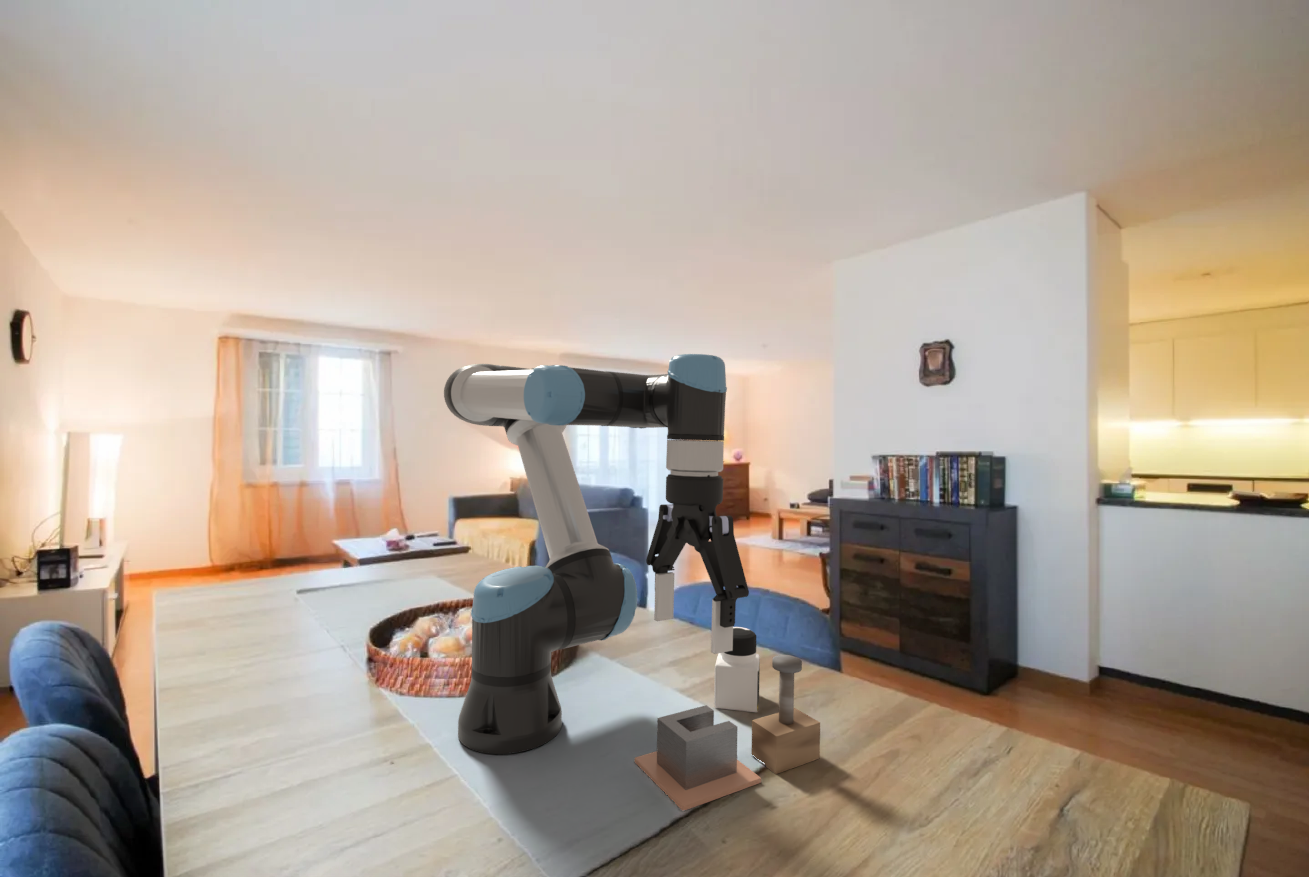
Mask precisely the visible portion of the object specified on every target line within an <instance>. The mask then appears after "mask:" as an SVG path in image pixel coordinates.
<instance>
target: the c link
mask: <svg viewBox="0 0 1309 877" xmlns="http://www.w3.org/2000/svg"><path fill="white" fill-rule="evenodd" d="M714 721H715V710H714V709H712V708H711V707H709V706H708V705H705V704H704V705H702V706H699V707H698V706H697V707H693V708H690V709H686V710H683V711H680V712H675V713H672V714H671V713H670V714H668V715H664V716H660V717H657V721H656V722H657V725H656V728H657V732H656V734H657V735H656V751H657V764H658V765H660V766H661V767H662V768H663V769H664V770H665V771H666V772H667V773H668V774H669V775H670V776H671V777H672V778H673V779H674V780H675V781H676V782H677V783H678V784H679V785H680V786H681V787H683V788H684V789H685V790H688V789H691V788H694V787H697V786H700V785H702V784H705V783H708V782H711V781H714V780H717V779H720V778H723V777H726V776H728V775H731V774H734V773H737V760H738V726H737V725H736V724H735V723H733V722H731V720H727V721H723V722H720V723H717V724H714Z"/></svg>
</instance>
